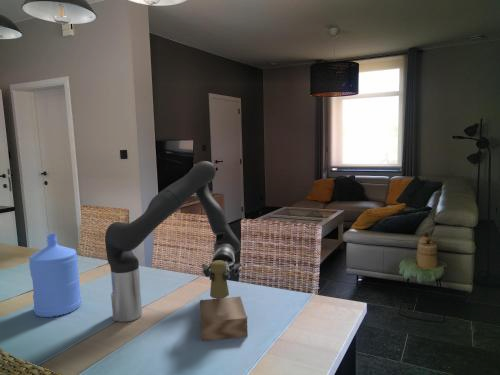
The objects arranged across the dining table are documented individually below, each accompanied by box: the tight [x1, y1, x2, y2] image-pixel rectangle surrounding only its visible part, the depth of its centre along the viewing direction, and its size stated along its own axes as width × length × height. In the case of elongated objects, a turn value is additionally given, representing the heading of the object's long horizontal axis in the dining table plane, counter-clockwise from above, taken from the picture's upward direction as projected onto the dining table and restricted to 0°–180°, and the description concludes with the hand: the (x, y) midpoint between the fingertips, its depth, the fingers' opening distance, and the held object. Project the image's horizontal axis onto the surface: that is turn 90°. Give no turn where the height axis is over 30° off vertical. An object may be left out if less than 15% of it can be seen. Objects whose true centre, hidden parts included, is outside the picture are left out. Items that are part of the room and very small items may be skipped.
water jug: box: [28, 233, 83, 318], centre depth 136 cm, size 16×16×28 cm
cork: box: [209, 260, 230, 299], centre depth 117 cm, size 6×6×11 cm
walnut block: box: [199, 296, 249, 342], centre depth 120 cm, size 14×16×6 cm
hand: (218, 278), depth 114 cm, fingers closed on cork, 3 cm apart
